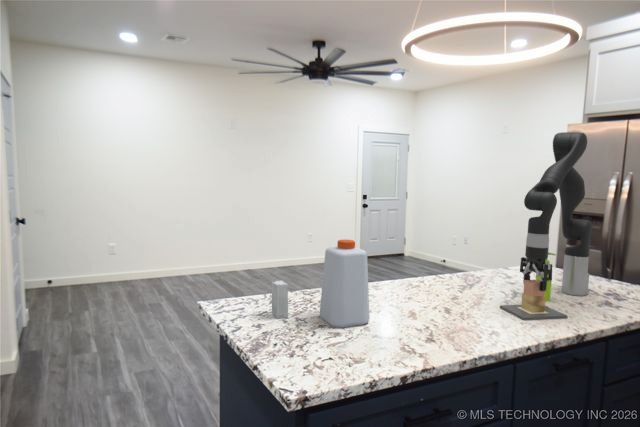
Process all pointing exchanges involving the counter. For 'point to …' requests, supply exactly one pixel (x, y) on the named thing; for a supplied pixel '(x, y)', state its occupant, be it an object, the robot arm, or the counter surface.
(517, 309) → the grey flat slab
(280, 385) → the counter surface
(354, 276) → the plastic bottle
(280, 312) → the skincare box
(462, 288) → the counter surface
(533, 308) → the ochre block
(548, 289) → the soap dispenser
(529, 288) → the terracotta block
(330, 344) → the counter surface
